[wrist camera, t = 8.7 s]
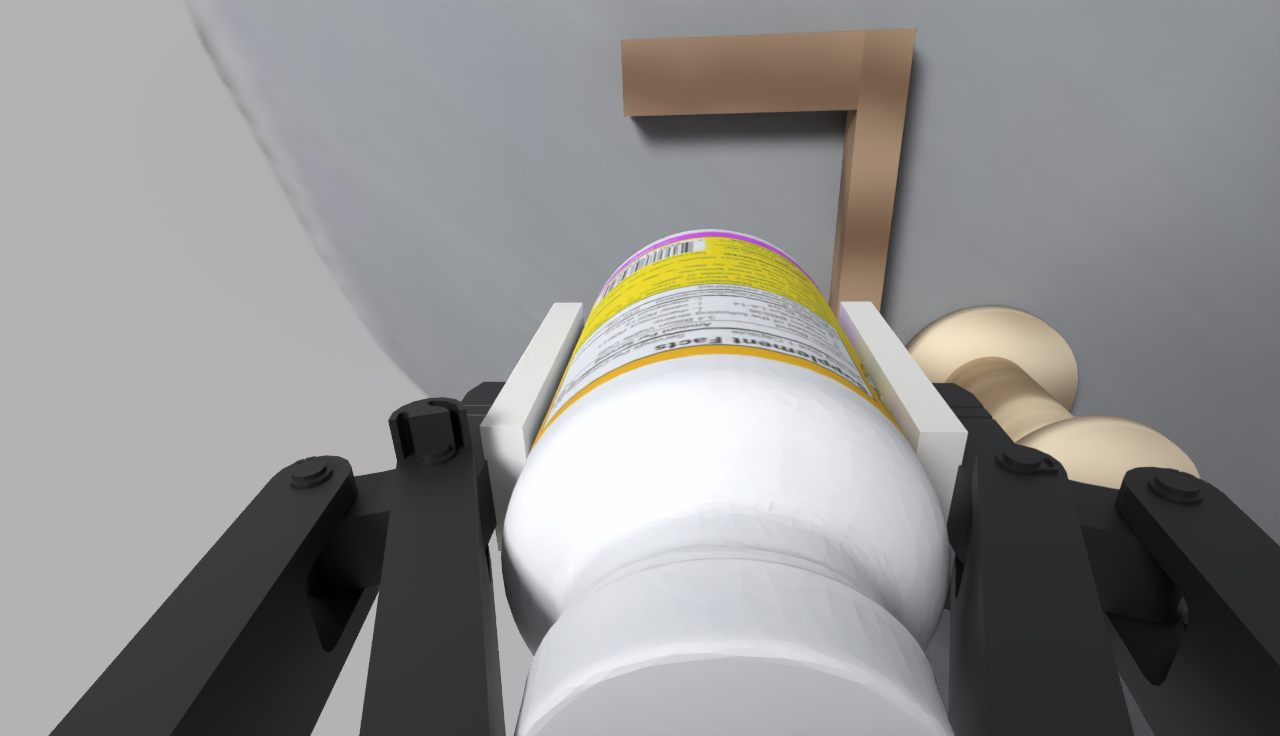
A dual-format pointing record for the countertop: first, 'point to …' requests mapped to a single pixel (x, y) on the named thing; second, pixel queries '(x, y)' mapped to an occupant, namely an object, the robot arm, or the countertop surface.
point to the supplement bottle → (723, 517)
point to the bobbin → (1037, 393)
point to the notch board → (799, 81)
